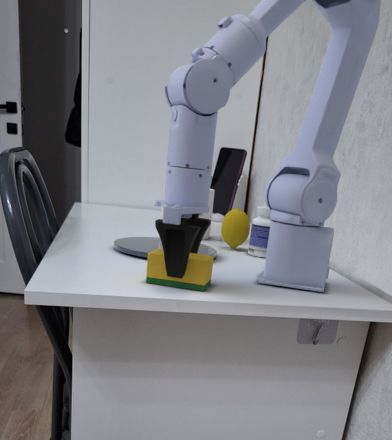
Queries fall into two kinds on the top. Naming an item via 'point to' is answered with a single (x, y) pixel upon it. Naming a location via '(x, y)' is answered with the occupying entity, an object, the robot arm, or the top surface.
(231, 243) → the lemon
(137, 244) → the plate
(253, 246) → the pill bottle
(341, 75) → the robot arm
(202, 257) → the sponge
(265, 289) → the top surface
